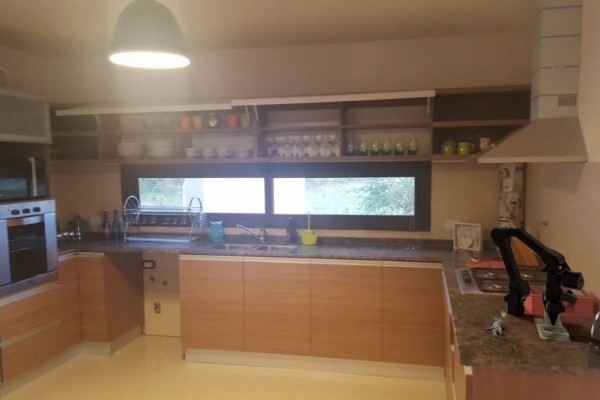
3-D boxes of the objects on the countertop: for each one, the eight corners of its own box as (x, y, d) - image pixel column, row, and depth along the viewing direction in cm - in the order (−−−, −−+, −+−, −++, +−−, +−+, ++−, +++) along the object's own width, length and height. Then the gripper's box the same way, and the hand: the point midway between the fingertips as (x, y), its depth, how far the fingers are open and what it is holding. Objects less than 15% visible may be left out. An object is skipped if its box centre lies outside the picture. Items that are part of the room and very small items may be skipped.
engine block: (545, 324, 185) (545, 312, 185) (543, 321, 189) (544, 309, 188) (559, 326, 183) (559, 314, 183) (557, 323, 187) (558, 311, 187)
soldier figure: (486, 338, 177) (482, 318, 188) (495, 345, 177) (490, 326, 188) (502, 327, 173) (497, 308, 184) (511, 335, 174) (506, 316, 185)
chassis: (540, 340, 172) (541, 332, 172) (533, 320, 193) (533, 313, 193) (571, 344, 169) (571, 336, 168) (560, 323, 190) (560, 316, 190)
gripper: (581, 292, 173) (579, 332, 175) (571, 280, 190) (569, 316, 192) (548, 289, 177) (546, 328, 178) (541, 277, 194) (540, 313, 196)
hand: (551, 321), depth 186 cm, fingers open, 8 cm apart
